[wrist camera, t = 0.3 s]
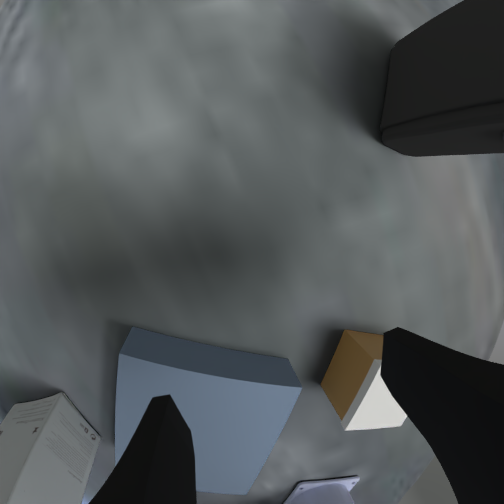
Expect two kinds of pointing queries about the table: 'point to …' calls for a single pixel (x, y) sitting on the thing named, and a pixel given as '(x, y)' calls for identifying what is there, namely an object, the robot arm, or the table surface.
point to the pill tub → (360, 384)
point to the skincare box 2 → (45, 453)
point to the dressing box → (208, 403)
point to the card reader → (448, 84)
